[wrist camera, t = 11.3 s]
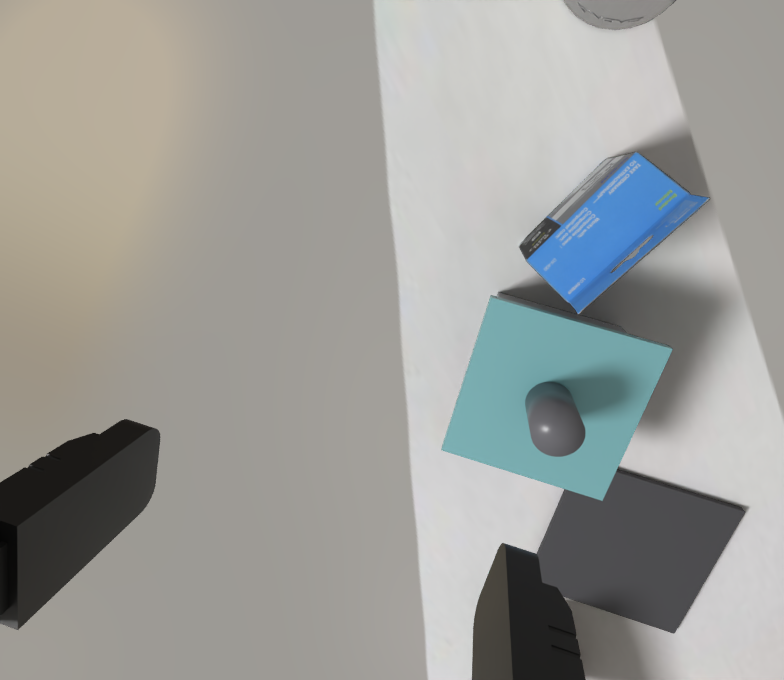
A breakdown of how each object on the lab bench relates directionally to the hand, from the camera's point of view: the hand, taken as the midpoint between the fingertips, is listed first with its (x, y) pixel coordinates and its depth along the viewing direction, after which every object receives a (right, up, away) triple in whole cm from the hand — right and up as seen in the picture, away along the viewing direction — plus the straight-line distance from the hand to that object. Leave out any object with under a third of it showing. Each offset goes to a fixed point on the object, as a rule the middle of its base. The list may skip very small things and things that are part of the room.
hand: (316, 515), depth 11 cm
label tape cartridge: (+16, +13, +27) cm, 34 cm away
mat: (+23, -15, +34) cm, 44 cm away
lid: (+13, 0, +24) cm, 27 cm away
